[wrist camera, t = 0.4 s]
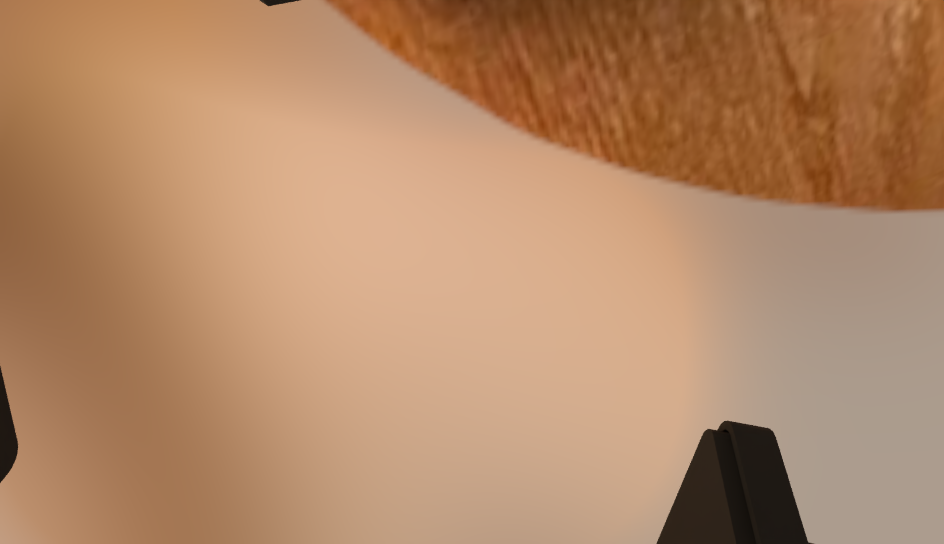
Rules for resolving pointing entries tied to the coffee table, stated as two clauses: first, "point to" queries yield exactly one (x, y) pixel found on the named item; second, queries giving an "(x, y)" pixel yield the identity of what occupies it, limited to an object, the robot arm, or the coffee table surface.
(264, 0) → the puzzle cube
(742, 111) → the coffee table surface
